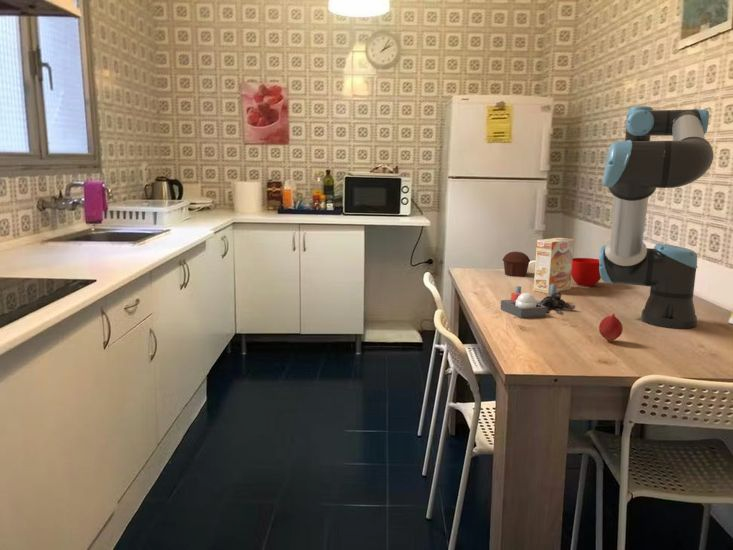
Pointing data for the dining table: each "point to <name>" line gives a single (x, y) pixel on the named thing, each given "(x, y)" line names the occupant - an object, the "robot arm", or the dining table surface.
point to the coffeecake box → (553, 264)
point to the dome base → (522, 312)
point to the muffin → (516, 264)
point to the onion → (610, 328)
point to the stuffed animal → (555, 303)
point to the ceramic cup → (585, 271)
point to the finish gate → (552, 290)
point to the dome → (526, 300)
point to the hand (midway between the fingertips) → (629, 228)
